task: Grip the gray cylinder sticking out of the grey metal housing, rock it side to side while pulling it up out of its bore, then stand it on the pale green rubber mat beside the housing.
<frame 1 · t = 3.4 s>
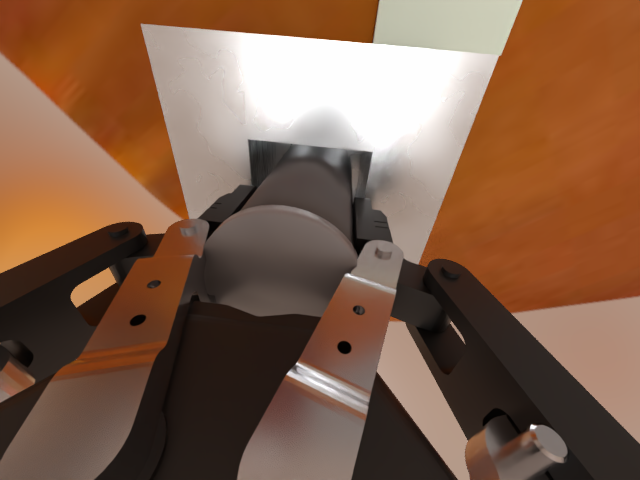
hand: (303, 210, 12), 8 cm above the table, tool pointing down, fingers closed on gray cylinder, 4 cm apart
gray cylinder: (317, 170, 17), point 2 cm above the table, touching gripper, housing
housing: (320, 161, 18), on the table
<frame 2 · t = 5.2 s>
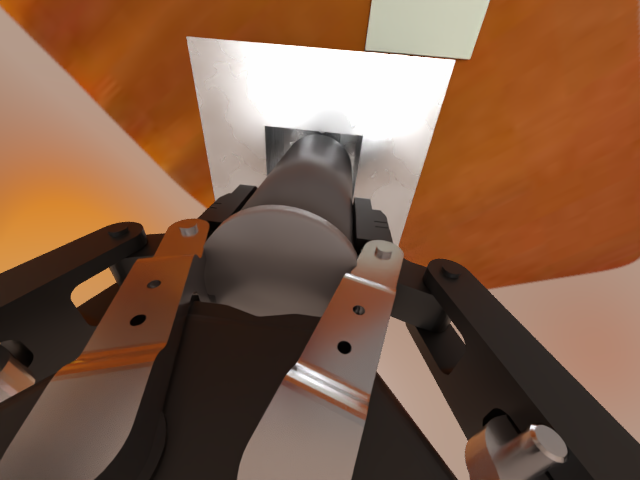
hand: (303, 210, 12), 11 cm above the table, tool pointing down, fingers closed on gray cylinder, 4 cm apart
gray cylinder: (317, 170, 17), point 6 cm above the table, touching gripper
housing: (321, 150, 21), on the table
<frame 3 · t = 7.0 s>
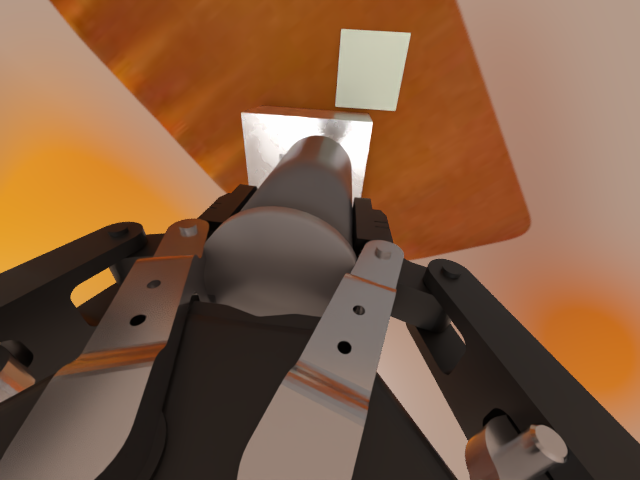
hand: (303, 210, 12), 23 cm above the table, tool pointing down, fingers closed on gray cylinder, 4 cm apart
mat: (369, 72, 28), on the table
gray cylinder: (317, 171, 17), point 17 cm above the table, touching gripper
housing: (312, 163, 34), on the table
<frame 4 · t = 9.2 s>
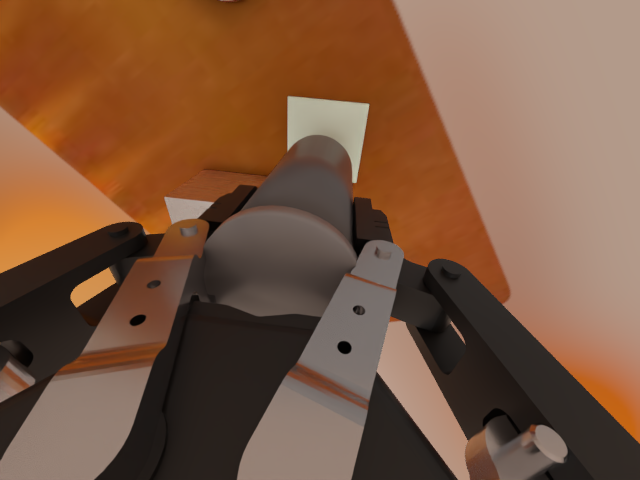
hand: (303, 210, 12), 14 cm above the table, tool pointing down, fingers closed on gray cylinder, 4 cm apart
mat: (325, 141, 24), on the table
gray cylinder: (317, 171, 17), point 8 cm above the table, touching gripper
housing: (267, 228, 30), on the table
when the fingers open (7 cm above the table, at t = 11.0 s): gray cylinder stays where it is, resting on mat.
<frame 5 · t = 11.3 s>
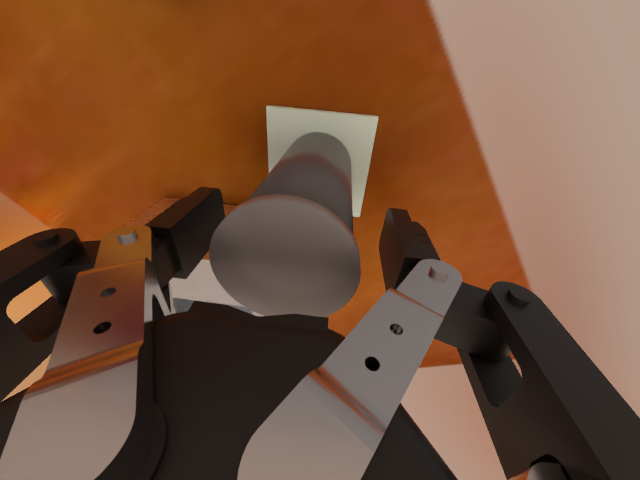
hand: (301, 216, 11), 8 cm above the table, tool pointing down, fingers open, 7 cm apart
mat: (318, 164, 18), on the table
gray cylinder: (318, 167, 17), point 1 cm above the table, touching mat
housing: (248, 266, 24), on the table
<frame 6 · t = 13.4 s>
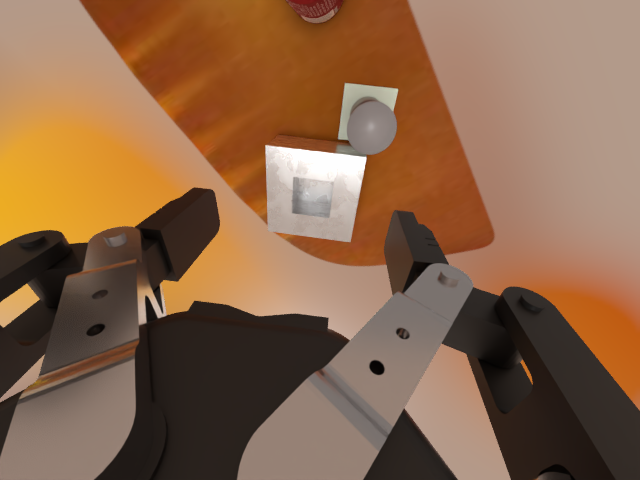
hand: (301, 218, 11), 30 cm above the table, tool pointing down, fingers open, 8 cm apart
mat: (366, 114, 35), on the table
gray cylinder: (366, 115, 34), point 1 cm above the table, touching mat
housing: (317, 181, 41), on the table
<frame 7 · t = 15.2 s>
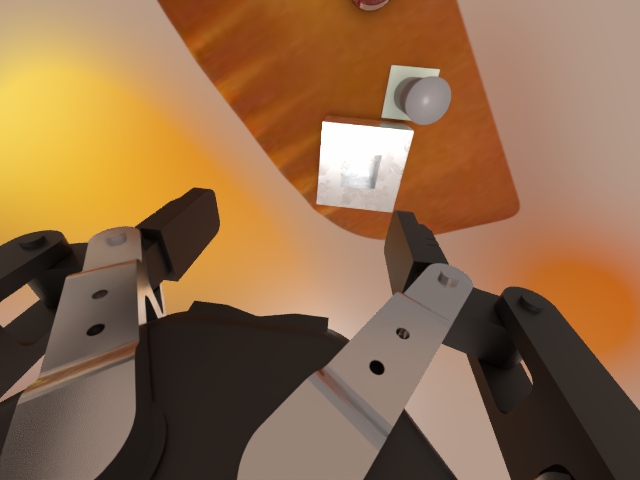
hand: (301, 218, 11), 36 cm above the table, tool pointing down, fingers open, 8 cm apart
mat: (408, 94, 39), on the table
gray cylinder: (409, 94, 38), point 1 cm above the table, touching mat
housing: (358, 158, 45), on the table
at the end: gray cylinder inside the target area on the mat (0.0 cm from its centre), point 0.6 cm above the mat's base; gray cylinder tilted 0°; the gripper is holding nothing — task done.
